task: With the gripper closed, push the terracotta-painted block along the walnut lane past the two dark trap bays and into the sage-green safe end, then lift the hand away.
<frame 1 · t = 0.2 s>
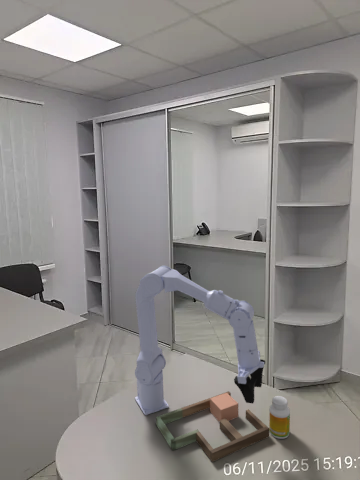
hand: (253, 394, 96), 10 cm above the table, tool pointing down, fingers open, 7 cm apart
supplement bottle: (279, 433, 96), on the table
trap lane: (205, 421, 101), on the table
terracotta block: (224, 414, 104), on the table
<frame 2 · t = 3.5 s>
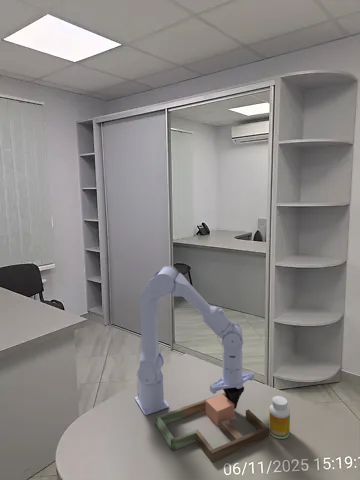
hand: (232, 407, 105), 1 cm above the table, tool pointing down, fingers closed
terracotta block: (219, 416, 103), on the table, touching gripper
everything else where it was.
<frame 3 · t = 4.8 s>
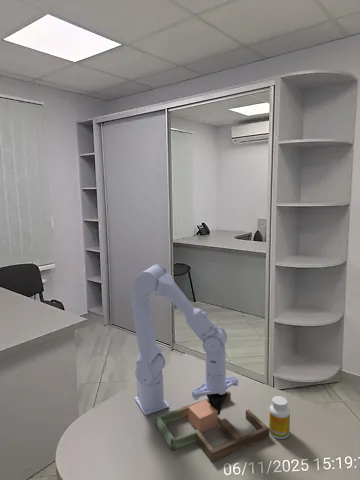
hand: (216, 413, 102), 1 cm above the table, tool pointing down, fingers closed
terracotta block: (203, 423, 100), on the table, touching gripper
everything else where it was.
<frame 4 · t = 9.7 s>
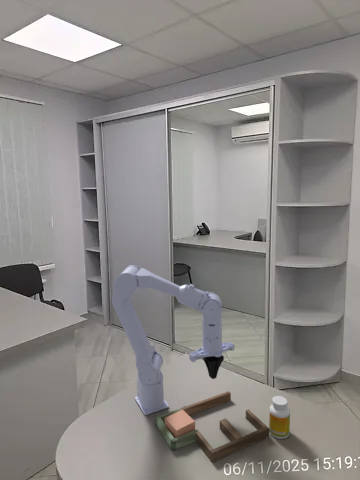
hand: (212, 377, 105), 10 cm above the table, tool pointing down, fingers closed
terracotta block: (180, 434, 96), on the table
everything else where it was.
at the end: terracotta block inside the target area on the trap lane (1.0 cm from its centre), point 0.0 cm above the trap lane's base; terracotta block tilted 0° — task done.
